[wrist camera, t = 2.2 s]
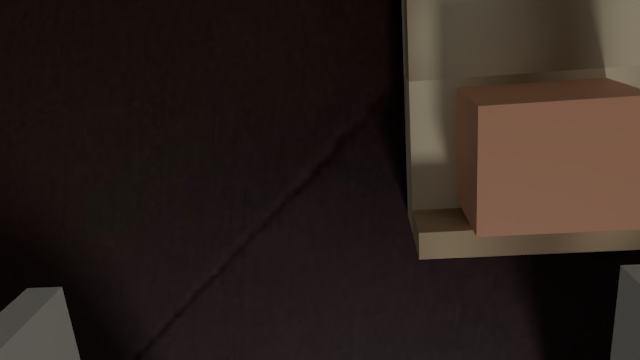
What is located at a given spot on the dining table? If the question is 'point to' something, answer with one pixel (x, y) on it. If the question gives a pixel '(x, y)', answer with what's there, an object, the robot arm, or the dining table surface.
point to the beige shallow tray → (499, 69)
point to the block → (549, 157)
